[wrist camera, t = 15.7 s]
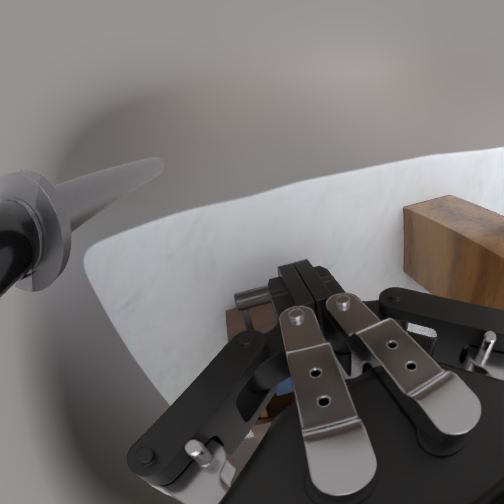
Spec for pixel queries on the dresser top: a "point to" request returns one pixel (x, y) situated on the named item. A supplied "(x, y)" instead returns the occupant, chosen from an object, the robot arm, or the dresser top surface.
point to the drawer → (262, 319)
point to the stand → (456, 250)
